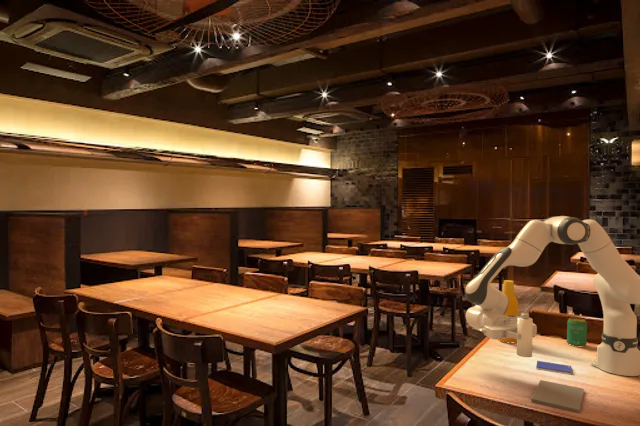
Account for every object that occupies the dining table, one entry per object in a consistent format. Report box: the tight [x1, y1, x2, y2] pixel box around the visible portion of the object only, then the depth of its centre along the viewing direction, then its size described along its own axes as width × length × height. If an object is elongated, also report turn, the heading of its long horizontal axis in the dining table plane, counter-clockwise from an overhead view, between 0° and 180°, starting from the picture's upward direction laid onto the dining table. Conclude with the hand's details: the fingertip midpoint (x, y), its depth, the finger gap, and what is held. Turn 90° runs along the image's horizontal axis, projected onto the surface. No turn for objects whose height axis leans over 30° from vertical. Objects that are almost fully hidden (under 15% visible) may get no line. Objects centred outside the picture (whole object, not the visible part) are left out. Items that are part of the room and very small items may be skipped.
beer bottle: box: [497, 279, 520, 343], centre depth 220 cm, size 9×9×29 cm
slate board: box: [531, 379, 585, 414], centre depth 156 cm, size 20×14×1 cm
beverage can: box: [566, 317, 588, 347], centre depth 215 cm, size 8×8×12 cm
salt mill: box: [516, 312, 534, 358], centre depth 162 cm, size 5×5×15 cm
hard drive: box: [535, 360, 572, 375], centre depth 184 cm, size 2×8×12 cm
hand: (526, 336), depth 161 cm, fingers closed on salt mill, 5 cm apart
